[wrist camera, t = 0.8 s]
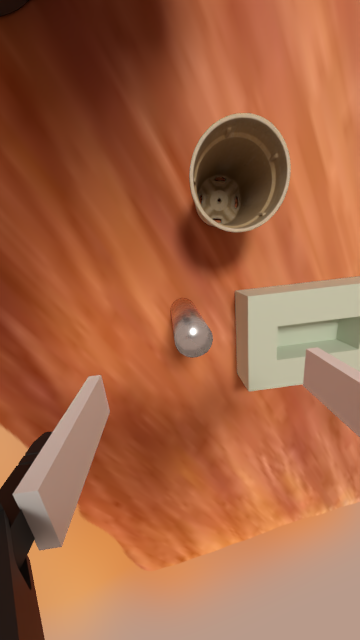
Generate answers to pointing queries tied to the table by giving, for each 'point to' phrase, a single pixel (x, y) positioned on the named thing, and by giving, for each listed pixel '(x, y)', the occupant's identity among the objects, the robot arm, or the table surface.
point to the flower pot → (240, 172)
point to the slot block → (295, 329)
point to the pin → (190, 329)
